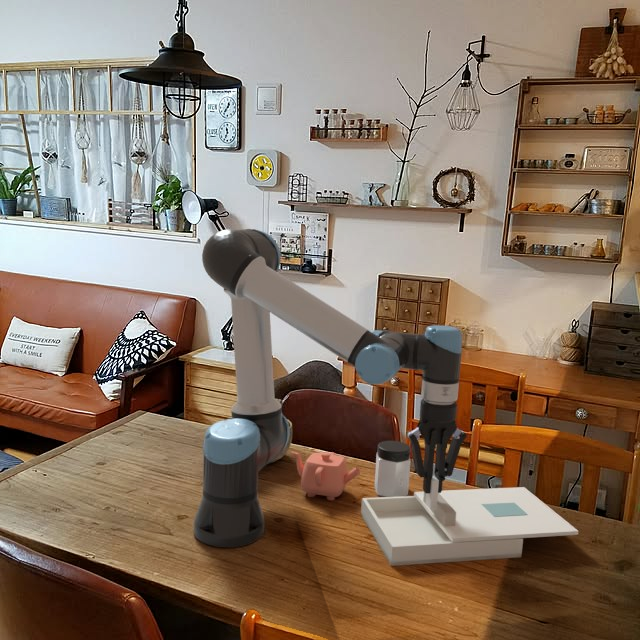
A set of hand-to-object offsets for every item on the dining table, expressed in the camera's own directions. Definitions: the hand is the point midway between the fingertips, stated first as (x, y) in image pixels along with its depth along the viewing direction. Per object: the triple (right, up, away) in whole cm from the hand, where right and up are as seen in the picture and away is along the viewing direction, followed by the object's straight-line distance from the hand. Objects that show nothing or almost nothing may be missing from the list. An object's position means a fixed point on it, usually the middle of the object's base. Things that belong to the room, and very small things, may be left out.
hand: (431, 506), depth 138 cm
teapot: (-23, -3, +20) cm, 31 cm away
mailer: (+2, -7, +2) cm, 7 cm away
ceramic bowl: (-40, +1, +39) cm, 56 cm away
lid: (+14, -3, +4) cm, 15 cm away
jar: (-6, -3, +23) cm, 24 cm away
